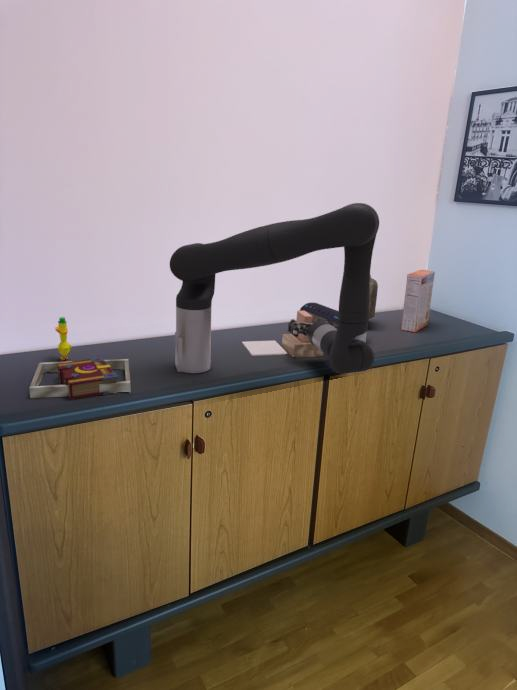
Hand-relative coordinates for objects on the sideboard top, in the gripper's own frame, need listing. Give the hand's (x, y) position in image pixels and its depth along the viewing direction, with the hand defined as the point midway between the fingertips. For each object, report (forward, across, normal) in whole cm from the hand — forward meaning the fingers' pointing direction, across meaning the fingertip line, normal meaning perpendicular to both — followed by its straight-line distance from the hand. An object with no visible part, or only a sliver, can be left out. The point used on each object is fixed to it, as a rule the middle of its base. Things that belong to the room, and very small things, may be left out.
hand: (305, 322), depth 153 cm
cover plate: (+1, 0, +10) cm, 10 cm away
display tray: (-15, +63, +10) cm, 65 cm away
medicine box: (+9, -23, +10) cm, 27 cm away
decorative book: (-17, +62, +10) cm, 65 cm away
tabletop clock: (+27, -32, +10) cm, 43 cm away
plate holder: (+1, 0, +10) cm, 10 cm away
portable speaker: (+15, -13, +10) cm, 23 cm away
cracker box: (+22, -52, +10) cm, 57 cm away
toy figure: (+2, +69, +10) cm, 70 cm away
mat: (+5, +11, +10) cm, 15 cm away
